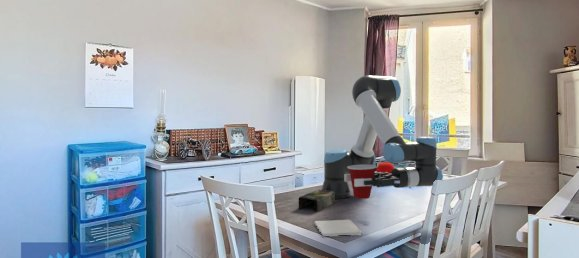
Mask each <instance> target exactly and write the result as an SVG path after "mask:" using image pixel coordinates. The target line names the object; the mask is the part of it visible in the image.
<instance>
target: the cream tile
mask: <svg viewBox="0 0 579 258" xmlns="http://www.w3.org/2000/svg"><path fill="white" fill-rule="evenodd" d="M314 226H315V227H316V226H317V227H316V228H317V230H318V229H319V230H318V231H319V233H320V232H321V233H320V235H321V234H322V235H323V236H329V237H339V236H338V235H351V236H360V235H359V234H362V235H363V232H362V231H361V229H359V228H358V227H357V225H356V224H355V223H353V221H352V220H351V219H337V220H336V219H335V220H334V219H333V220H315V221H314ZM322 235H321V236H322ZM323 236H322V237H323Z"/></svg>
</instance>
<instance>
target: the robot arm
mask: <svg viewBox="0 0 579 258" xmlns="http://www.w3.org/2000/svg"><path fill="white" fill-rule="evenodd" d="M401 90H402V88H401V84H400V82H399V80H398V79H397V78H396V77H394V76H388V75H385V76H383V75H370V74H369V75H363V76H361V77H359V78H357V80H356V81H355V82H354V84H353V85H352V90H351V93H352V99H353V101H354V103H355V105H356V106H357V107H359V108H360V109H361V111H362V112H363V113H364V117H363V121H362V123H361V126H360V130H359V134H358V136H357V139H356V143H355V144H353V145H352V146H351V149H350V151H348V150H347V149H346V148H345V149H344V148H339V149H330V150H328V151H326V152H325V153H324V160H323V163H324V164H323V165H324V168H323V169H324V170H323V171H324V172H323V173H324V178H323V184H322V185H321V186H322V187H321V189H320V190H328V191H332V192H335V197H334V198H335V200H336V199H347V198H349V197H351V188H350V186H349V183H348V182H351V176H350V172H349V169H348V168H347V167H348V166H352V165H376V163H377V161H376V158H377V157H376V154H375V151H374V149H373V148H374V146H375V142H376V140H377V137H378V138H379V140H380V141H381V143H382V144H383V148H382V155H383V156H382V158H383V160H385V161H386V162H388V163H391V164H392V163H393V164H400V163H414V162H415V167H412V166H411V167H394V169H393V170H392V171H391V173H390V174H389V173H388V172H385V173H383V172H377V171H375V173H374V177H373V180H372V178H367V179H354V186H355V187H359V186H372V187H376V188H381V187H382V188H383V187H390V186H392V187H393V188H395V189H398V188H399V189H400V188H402V189H403V188H409V189H412V187H413V188H414V187H417V188H418V187H434V186H433V182H434V181H435V180H442V181H443V179H444V174H443V173H442V169H441V168H440V167H439V166H437V147H438V146H437V139H436V138H435V137H432V136H417V137H416V139H415V141H413V142H405V140H404V138H402V136H401V134H400V132H399V131H398V129H397V128H396V127H395V125H394V123H393V122H392V121H391V119H390V117H389V115H387V113H386V110H388V109H390V108H391V106H392V104H393V102H394V103H395V102H396V101H398V100H399V98H400V97H401V92H402V91H401Z"/></svg>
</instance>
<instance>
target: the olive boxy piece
mask: <svg viewBox="0 0 579 258" xmlns="http://www.w3.org/2000/svg"><path fill="white" fill-rule="evenodd" d="M334 197H335V192H332V191H328V190H321V189H316V190H314V191H311V192H309V193H306V194H304V195H301V196H299V197H298V210H301V208H303V207H306V206H308V205H310V204H312V203H314V207H313V208H312V211H314V212H318V211H320V210H323V209H326V208H328V207H329V206H331V205H332V204H334V203H335V202H336V198H334Z"/></svg>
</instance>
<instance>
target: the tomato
mask: <svg viewBox="0 0 579 258" xmlns="http://www.w3.org/2000/svg"><path fill="white" fill-rule="evenodd" d="M376 166H377V167H376V169H375V172H383V173H385V172H388V173H389V174H390V173H391V171H392V170H393V169H394V168H395V166H394V165H393V164H392V163H389V162H387V161H386V160H385V161H381V162H380V163H378V165H376Z"/></svg>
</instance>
